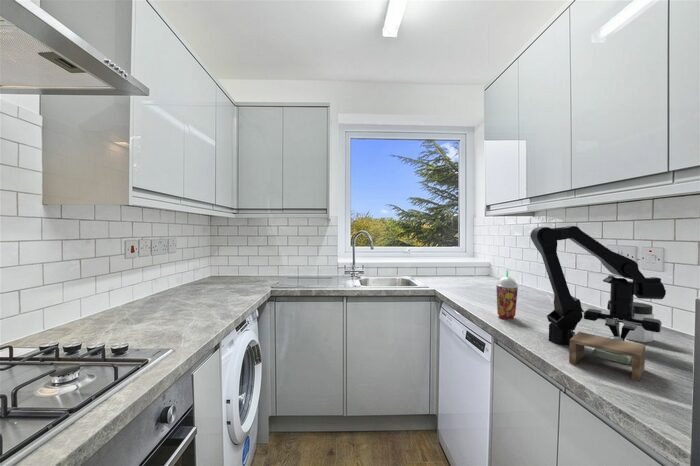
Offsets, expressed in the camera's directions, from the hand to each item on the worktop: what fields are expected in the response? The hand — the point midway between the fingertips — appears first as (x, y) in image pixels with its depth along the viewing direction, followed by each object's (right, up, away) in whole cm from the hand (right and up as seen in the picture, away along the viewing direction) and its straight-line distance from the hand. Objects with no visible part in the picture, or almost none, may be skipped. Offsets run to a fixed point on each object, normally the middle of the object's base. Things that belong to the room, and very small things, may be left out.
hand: (619, 346), depth 107 cm
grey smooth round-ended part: (-9, 0, -9) cm, 13 cm away
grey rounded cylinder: (-6, 0, -5) cm, 8 cm away
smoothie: (-20, 0, +35) cm, 40 cm away
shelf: (-16, -1, -15) cm, 22 cm away
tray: (-7, -1, -7) cm, 10 cm away
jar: (+14, -1, +10) cm, 17 cm away
